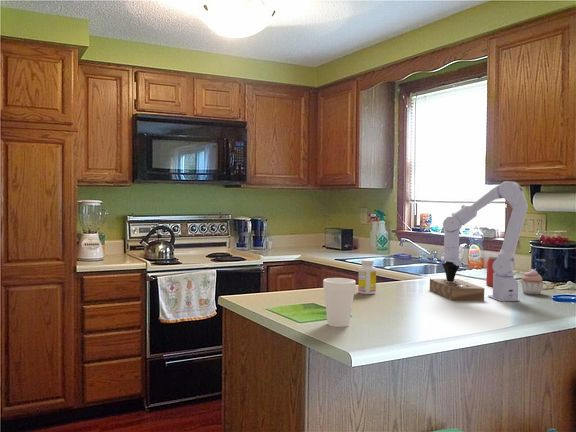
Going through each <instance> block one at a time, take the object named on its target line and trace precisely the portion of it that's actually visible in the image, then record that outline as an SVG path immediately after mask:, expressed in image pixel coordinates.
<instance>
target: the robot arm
mask: <svg viewBox="0 0 576 432" xmlns="http://www.w3.org/2000/svg"><path fill="white" fill-rule="evenodd" d="M524 190H525V189H523V187H522V186H521V185H520V183H518V182H516V181H511V180H510V181H509V180H507V181H503V182H501V183H500V184H499V185H497V186H495V187H493V188H492V189H490V190H489V191H488V192H486V193H485V194H484V195H482V197H480V198H479V199H478V200H476V201H475V202H473V204H469V203H468V204H462V205H461V206H460V209H459V210H457V211H456V212H453V213H451V216H446V218H445V219H444V220H443V222H442V227H443V230H444V238H443V239H444V240H443V255H441V256H440V261H441V262H442V263H441V265H442V267H443V270H444V274H445V277H446V278H445V279H447V281H448V282H453V281H454V279H456V274H457V272H458V269H459V268H460V267H461V266H462V264H463V263H462V262H463V260H461V259H460V258H459V257H460V256H459V254H460V230H461V229H462V227H463V226H465V225H466V224H468V223H469V222H470V221H472V220H473V219H475V218H476V217H477V215H478V211H480V210H481V209H483V208H485V207H486V206H487V205H489V204H490V203H492V202H493V201H495V200H500V199H505V200H506V201H507V202H508V205H510V207H511V208H512V209H511V215H510V217H509V221H508V224H507V228H506V230H505V231H506V232H505V234H504V238H503V243H502V245H501V249H500V250H499V252H498V254H497V256H496V257H497V259H496V260H495V261H494V262H493V266H492V267H493V270H494V272H495V273H493V274H494V275H493V287H492V294H487V297H488V298H492V299H494V300H497V301H499V302H521V300H520V299H519V282H518V280H517V279H516V278H515V275H514V274H515V273H514V272H513V271H514V269H515V265H516V262H515V258H516V250H517V246H518V242H519V239H520V236H521V232H522V229H523V226H524V222H525V218H526V215H527V212H528V209H529V205H528V202H527V199H526V198H527V197H526V195H525V191H524ZM444 262H445V263H444Z"/></svg>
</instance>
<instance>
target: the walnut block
mask: <svg viewBox="0 0 576 432" xmlns="http://www.w3.org/2000/svg"><path fill="white" fill-rule="evenodd" d="M446 281H447V278H430V279H429V291H431V292H433V293H435V294H438V295H440V296H442V297H444V298H446V299H449V300H451V301H454V302H455V301H457V302H459V301H460V302H461V301H463V302H464V301H466V302H467V301H468V302H469V301H470V302H471V301H485V287H482V286H480V285H476V284H473V283H472V282H468V281H465V280H463V279H460V278H454V281H455V282H446ZM457 285H466V286H467V287H459V286H457Z"/></svg>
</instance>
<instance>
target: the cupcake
mask: <svg viewBox="0 0 576 432" xmlns="http://www.w3.org/2000/svg"><path fill="white" fill-rule="evenodd" d="M519 283H520V284H521V290H522V292H523V294H525V295H530V296H531V295H532V296H536V295H537V296H538V295H541V293H542V289H543V287H544V285H545V281H543V277H542V276H541V275H540V274H539V273H538V271H537V270H536V269H533V268H531V269H530V271H528V272H525V273H524V274H523V275H522V276H521V280H519Z"/></svg>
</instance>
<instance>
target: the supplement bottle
mask: <svg viewBox="0 0 576 432" xmlns="http://www.w3.org/2000/svg"><path fill="white" fill-rule="evenodd" d="M360 261H361V265H360V267H358V283H357V284H358V286H357V287H358V290H357V291H358V293H359V294H362V295H374V294H376V291H377V289H376V287H377V286H376V285H377V268H376V266H374V264H375V263H374V259H361V260H360Z"/></svg>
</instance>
